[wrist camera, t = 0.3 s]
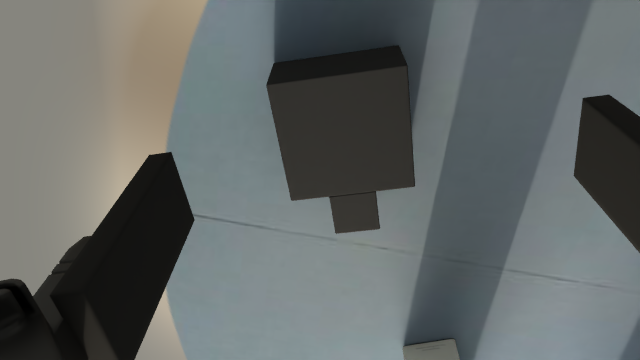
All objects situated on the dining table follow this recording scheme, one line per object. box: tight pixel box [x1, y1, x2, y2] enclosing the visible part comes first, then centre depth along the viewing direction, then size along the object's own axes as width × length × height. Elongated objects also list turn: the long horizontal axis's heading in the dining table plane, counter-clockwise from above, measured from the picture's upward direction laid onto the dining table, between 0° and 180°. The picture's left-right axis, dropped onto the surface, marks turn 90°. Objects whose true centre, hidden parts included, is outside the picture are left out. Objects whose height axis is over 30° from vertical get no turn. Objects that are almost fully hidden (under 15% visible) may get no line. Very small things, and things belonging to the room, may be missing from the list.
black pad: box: [266, 46, 415, 234], centre depth 32 cm, size 8×11×4 cm
